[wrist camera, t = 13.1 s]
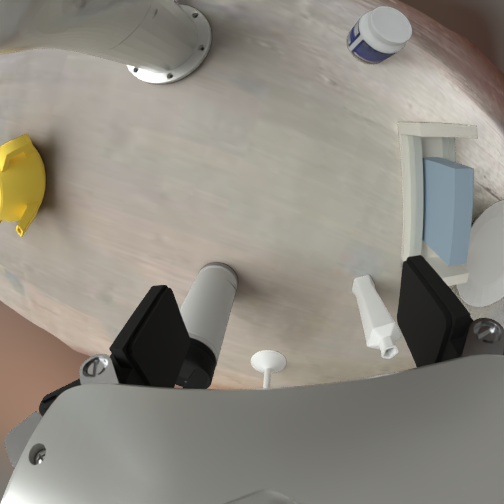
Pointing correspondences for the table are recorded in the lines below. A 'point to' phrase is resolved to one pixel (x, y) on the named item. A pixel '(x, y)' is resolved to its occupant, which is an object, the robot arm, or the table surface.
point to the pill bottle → (379, 35)
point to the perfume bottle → (375, 318)
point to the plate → (485, 259)
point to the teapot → (21, 182)
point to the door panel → (447, 208)
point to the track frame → (412, 151)
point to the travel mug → (206, 323)
